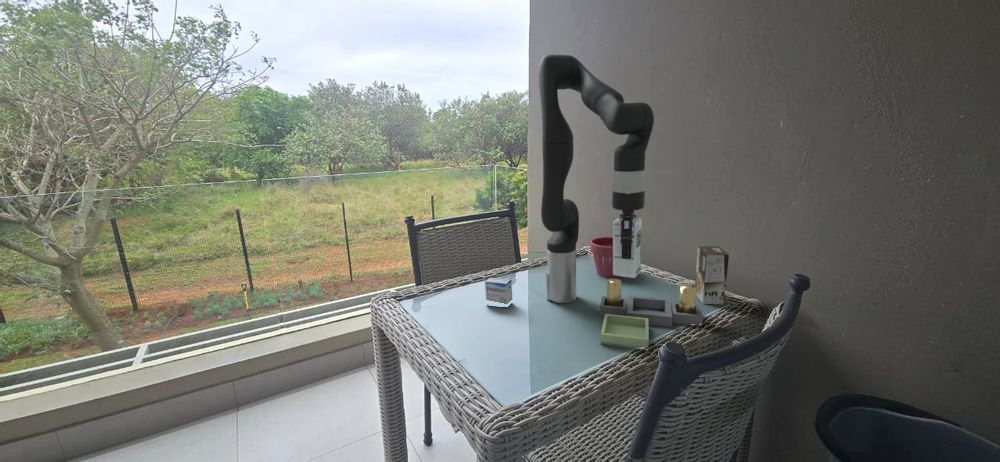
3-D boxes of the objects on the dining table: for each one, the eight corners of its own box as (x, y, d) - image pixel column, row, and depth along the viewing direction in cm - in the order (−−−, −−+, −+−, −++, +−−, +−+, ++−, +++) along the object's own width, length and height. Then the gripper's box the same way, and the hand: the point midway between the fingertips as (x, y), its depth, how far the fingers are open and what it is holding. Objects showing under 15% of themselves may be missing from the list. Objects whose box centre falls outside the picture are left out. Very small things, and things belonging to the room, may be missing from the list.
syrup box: (635, 278, 94) (637, 221, 90) (611, 275, 97) (612, 220, 93) (640, 271, 99) (642, 216, 95) (617, 267, 102) (619, 215, 98)
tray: (600, 344, 99) (600, 334, 98) (604, 323, 110) (605, 313, 109) (648, 350, 95) (648, 340, 94) (648, 328, 106) (648, 318, 105)
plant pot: (635, 271, 147) (636, 239, 143) (618, 283, 137) (618, 249, 134) (601, 264, 156) (601, 234, 153) (583, 274, 147) (583, 243, 143)
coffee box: (725, 304, 116) (730, 254, 112) (702, 304, 117) (706, 254, 113) (715, 292, 125) (719, 245, 121) (693, 292, 126) (697, 245, 122)
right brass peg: (678, 321, 108) (680, 288, 106) (677, 314, 112) (679, 283, 109) (694, 322, 107) (696, 289, 104) (692, 316, 110) (695, 284, 108)
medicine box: (486, 306, 125) (484, 281, 123) (491, 300, 129) (489, 276, 127) (508, 308, 122) (506, 283, 120) (513, 303, 126) (511, 278, 124)
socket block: (598, 318, 112) (598, 309, 112) (603, 301, 123) (603, 293, 122) (703, 330, 103) (704, 320, 102) (697, 310, 113) (698, 301, 113)
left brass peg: (606, 313, 115) (606, 282, 113) (607, 307, 119) (607, 277, 116) (620, 315, 114) (620, 284, 111) (620, 309, 118) (621, 278, 115)
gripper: (614, 184, 100) (613, 245, 104) (610, 194, 87) (609, 262, 91) (645, 184, 98) (642, 246, 102) (644, 194, 85) (642, 264, 89)
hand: (626, 254), depth 97 cm, fingers closed on syrup box, 6 cm apart
